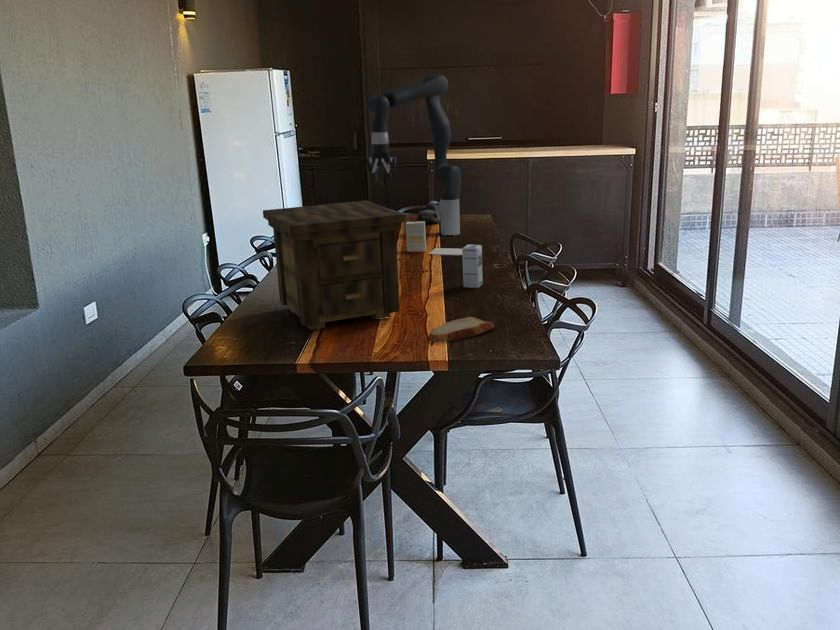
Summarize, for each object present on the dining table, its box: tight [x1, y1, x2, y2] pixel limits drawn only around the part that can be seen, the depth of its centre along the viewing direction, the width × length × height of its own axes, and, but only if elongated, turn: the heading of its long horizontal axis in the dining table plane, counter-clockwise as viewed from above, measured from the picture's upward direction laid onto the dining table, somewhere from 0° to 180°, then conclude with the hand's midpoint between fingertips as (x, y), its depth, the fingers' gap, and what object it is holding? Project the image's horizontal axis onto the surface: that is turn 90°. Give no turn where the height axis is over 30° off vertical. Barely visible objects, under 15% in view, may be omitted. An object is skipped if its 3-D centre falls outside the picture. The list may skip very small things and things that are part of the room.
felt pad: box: [428, 247, 462, 256], centre depth 318 cm, size 12×18×1 cm, turn 75°
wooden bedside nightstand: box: [262, 200, 407, 331], centre depth 230 cm, size 35×35×33 cm
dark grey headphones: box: [415, 200, 441, 224], centre depth 390 cm, size 15×12×14 cm
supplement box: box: [405, 221, 427, 253], centre depth 320 cm, size 8×5×13 cm, turn 84°
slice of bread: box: [428, 316, 495, 343], centre depth 211 cm, size 18×18×4 cm
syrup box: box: [461, 244, 484, 289], centre depth 260 cm, size 6×6×14 cm
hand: (382, 181), depth 328 cm, fingers open, 5 cm apart
